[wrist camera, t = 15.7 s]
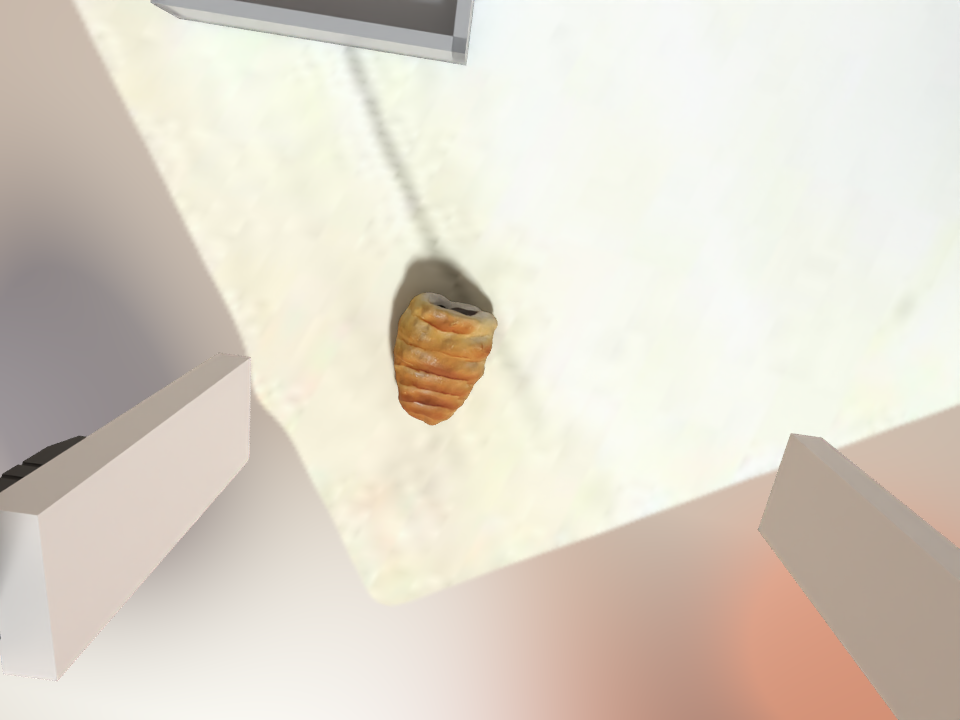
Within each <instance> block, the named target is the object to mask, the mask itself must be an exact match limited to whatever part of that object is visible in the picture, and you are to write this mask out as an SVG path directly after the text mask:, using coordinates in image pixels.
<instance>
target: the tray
mask: <svg viewBox="0 0 960 720" xmlns="http://www.w3.org/2000/svg"><path fill="white" fill-rule="evenodd" d="M151 3H152V4H154V5H156V6H158V7H159V8H161V9H163V10H165V11H166V12H168V13H170V14H172V15H174V16H175V17H177V18H179V19H185V20H191V21H197V22H203V23H209V24H215V25H222V26H228V27H234V28H240V29H246V30H252V31H259V32H265V33H271V34H277V35H283V36H289V37H296V38H302V39H308V40H314V41H320V42H326V43H333V44H339V45H345V46H351V47H357V48H363V49H370V50H376V51H382V52H388V53H394V54H400V55H407V56H413V57H419V58H425V59H431V60H437V61H444V62H450V63H456V64H462V65H466V63H467V55H468V47H469V39H470V31H471V23H472V15H473V7H474V0H151Z"/></svg>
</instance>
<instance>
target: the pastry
mask: <svg viewBox="0 0 960 720" xmlns="http://www.w3.org/2000/svg"><path fill="white" fill-rule="evenodd" d="M497 325H498V324H497V320H496V318H495V317H494V315H493V314H491V313H488V312H483V311H481V309H480V308H478V307H476V306H473V305H470V304H463V303H460V302H451V301H450V300H448V299H447V298H446V297H444V296H442V295H440V294H435V293H432V292H427V293H421V294H419V295H417V296H415V297H414V298H413V299H412V300H411V301H410V304H409V306H408V308H407V309H406V311H405V312H404V313H403V314H402V316H401V317H400V320H399V323H398V334H397V337H396V344H395V347H394V367H395V372H396V380H397V385H398V391H399V396H398V399H399V402H400V404H401V405H402V407H403V409H404V410H405V411H406V412H407V413H408V414H409V415H411V416H412V417H414V418H416V419H419V420H422V421H424V422H425V423H427V424H429V425H436V424H438V423H440V422H442V421H444V420H447V419H449V418H450V417H451V416H452V415H453V414H454V412H455V411H456V410H457V409H458V408H459V407H460V406H462V405H463V403H464V401H465V400H466V399H467V397H468V396H469V394H470V392H471V390H472V388H473V386H474V384H475V383H476V382H477V381H478V380H479V379H480V378H481V377H482V376H483V374H484V369H485V367H484V364H485V361H486V358H487V356H488V355H489V353H490V351H491V348H492V339H493V334H494V330H495V329H496V328H497Z"/></svg>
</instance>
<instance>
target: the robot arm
mask: <svg viewBox="0 0 960 720" xmlns="http://www.w3.org/2000/svg"><path fill="white" fill-rule="evenodd" d="M250 387H251V357H246V356H239V355H232V354H225V353H218V354H216V355H214V356H213V357H211V358H210V359H208V360H207V361H205V362H203V363H202V364H200V365H199V366H197V367H196V368H194V369H193V370H191V371H190V372H188V373H186V374H185V375H183V376H182V377H180V378H179V379H177V380H176V381H174V382H172V383H171V384H169V385H168V386H166V387H164V388H163V389H161V390H160V391H158V392H157V393H155V394H153V395H152V396H150V397H149V398H147V399H146V400H144V401H143V402H141V403H139V404H138V405H137V406H135V407H133V408H132V409H130V410H128V411H127V412H125V413H124V414H122V415H121V416H119V417H118V418H116V419H114V420H113V421H111V422H110V423H108V424H107V425H105V426H104V427H102V428H100V429H99V430H97V431H96V432H94V433H93V434H91V435H90V436H88V437H84V436H77V437H74V438H71V439H69V440H66V441H63V442H60V443H57V444H54V445H51V446H48V447H46V448H45V449H43V450H41V451H40V452H38V453H36V454H35V455H33V456H31V457H30V458H28V459H27V460H25V461H23V464H22V465H17V466H15V467H13V468H12V469H10V470H8V471H7V472H5V473H3V474H2V477H1V478H0V656H1V663H2V669H3V674H7V675H14V676H22V677H30V678H37V679H45V680H52V681H58V680H59V679H60V677H61V676H62V675H63V674H64V673H65V671H67V669H68V668H69V667H70V666H71V665H72V664H73V662H74V661H75V660H76V659H77V658H78V657H79V656H80V654H81V653H82V652H83V651H84V650H85V648H86V647H87V646H88V645H89V644H90V643H91V642H92V641H93V639H94V638H95V637H96V636H97V634H99V632H100V631H101V630H102V629H103V628H104V627H105V626H106V624H107V623H108V622H109V621H110V620H111V619H112V618H113V616H114V615H115V614H116V613H117V611H119V609H120V608H121V607H122V606H123V605H124V604H125V603H126V601H127V600H128V599H129V598H130V597H131V595H132V594H133V593H134V592H135V591H136V590H137V589H138V587H139V586H140V585H141V584H142V583H143V582H144V581H145V579H146V578H147V577H148V576H149V575H150V574H151V572H152V571H153V570H154V569H155V568H156V567H157V566H158V564H159V563H160V562H161V561H162V560H163V559H164V558H165V556H166V555H167V554H168V553H169V552H170V551H171V549H172V548H173V547H174V546H175V545H176V544H177V543H178V541H179V540H180V539H181V538H182V537H183V536H184V534H185V533H186V532H187V531H188V530H189V529H190V527H191V526H192V525H193V524H194V523H195V522H196V521H197V519H198V518H199V517H200V516H201V515H202V514H203V513H204V511H205V510H206V509H207V508H208V507H209V506H210V505H211V503H212V502H213V501H214V500H215V499H216V498H217V496H218V495H219V494H220V493H221V492H222V491H223V490H224V488H225V487H226V486H227V485H228V484H229V483H230V481H231V480H232V479H233V478H234V477H235V476H236V475H237V473H238V472H239V471H240V470H241V469H242V468H243V466H244V465H245V464H246V463H247V462H248V460H249V452H250V451H249V450H250V445H249V444H250ZM758 531H759V532H760V533H761V535H762V536H763V537H764V539H765V540H766V542H767V543H768V544H769V545H770V547H771V548H772V549H773V551H774V552H775V554H776V555H777V556H778V558H779V559H780V560H781V562H782V563H783V564H784V566H785V567H786V568H787V570H788V571H789V573H790V574H791V575H792V577H793V578H794V579H795V581H796V582H797V583H798V585H799V586H800V587H801V589H802V590H803V592H804V593H805V594H806V596H807V597H808V598H809V600H810V601H811V602H812V604H813V605H814V607H815V608H816V609H817V611H818V612H819V613H820V615H821V616H822V617H823V618H824V620H825V621H826V623H827V624H828V625H829V627H830V628H831V630H832V631H833V632H834V634H835V635H836V636H837V638H838V639H839V640H840V642H841V643H842V644H843V646H844V647H845V649H846V650H847V651H848V653H849V654H850V655H851V657H852V658H853V659H854V661H855V662H856V663H857V665H858V666H859V668H860V669H861V670H862V672H863V673H864V674H865V676H866V677H867V678H868V680H869V681H870V682H871V684H872V685H873V686H874V688H875V689H876V690H877V692H878V693H879V695H880V696H881V697H882V699H883V700H884V701H885V703H886V704H887V705H888V707H889V708H890V710H891V711H892V712H893V713H894V715H895V716H896V717H897V719H898V720H960V549H959V548H958V547H957V546H956V545H954V544H953V543H952V542H951V541H949V540H948V539H947V538H946V537H944V536H943V535H942V534H941V533H939V532H938V531H937V530H936V529H934V528H933V527H932V526H931V525H930V524H928V523H927V522H926V521H924V520H923V519H922V518H921V517H920V516H918V515H917V514H916V513H915V512H913V511H912V510H911V509H910V508H908V507H907V506H906V505H904V504H903V503H902V502H901V501H900V500H899V499H897V498H896V497H895V496H894V495H892V494H891V493H890V492H889V491H887V490H886V489H885V488H884V487H882V486H881V485H880V484H878V483H877V482H876V481H875V480H874V479H872V478H871V477H870V476H869V475H867V474H866V473H865V472H864V471H862V470H861V469H860V468H859V467H858V466H856V465H855V464H854V463H853V462H851V461H850V460H849V459H848V458H846V457H845V456H844V455H842V454H841V453H840V452H839V451H838V450H836V449H835V448H834V447H833V446H832V445H830V444H829V443H828V442H827V441H825V440H824V439H823V438H821V437H814V436H806V435H799V434H792V433H791V434H790V437H789V440H788V443H787V446H786V449H785V452H784V455H783V458H782V461H781V464H780V466H779V469H778V472H777V476H776V478H775V481H774V484H773V487H772V490H771V493H770V496H769V499H768V502H767V504H766V508H765V510H764V513H763V516H762V519H761V522H760V525H759V528H758Z"/></svg>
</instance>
